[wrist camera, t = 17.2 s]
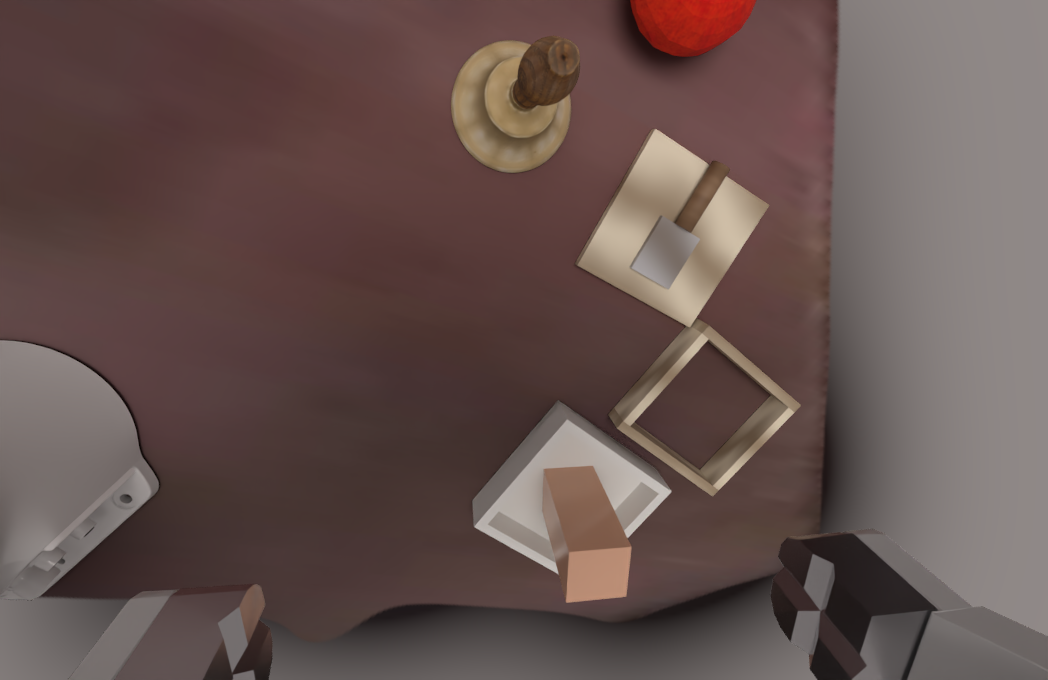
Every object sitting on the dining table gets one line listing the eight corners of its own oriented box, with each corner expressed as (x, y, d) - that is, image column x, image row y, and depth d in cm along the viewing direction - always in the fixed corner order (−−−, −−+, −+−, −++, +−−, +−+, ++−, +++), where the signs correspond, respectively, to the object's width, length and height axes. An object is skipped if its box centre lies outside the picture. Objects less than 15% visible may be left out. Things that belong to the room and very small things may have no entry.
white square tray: (572, 558, 47) (581, 586, 44) (472, 500, 44) (473, 526, 40) (655, 468, 45) (671, 491, 42) (558, 399, 42) (567, 419, 38)
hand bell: (507, 10, 32) (555, -131, 17) (594, 107, 35) (701, 57, 20) (425, 111, 33) (403, 62, 18) (515, 197, 36) (560, 215, 21)
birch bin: (699, 480, 46) (712, 496, 44) (608, 414, 43) (616, 428, 40) (782, 393, 45) (800, 405, 42) (694, 316, 41) (709, 325, 39)
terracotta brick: (542, 511, 44) (566, 602, 35) (543, 468, 43) (568, 552, 33) (589, 507, 45) (626, 596, 35) (592, 465, 43) (631, 546, 34)
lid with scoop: (685, 324, 41) (697, 332, 39) (574, 263, 38) (581, 268, 36) (764, 202, 39) (782, 203, 36) (652, 126, 36) (665, 124, 34)
